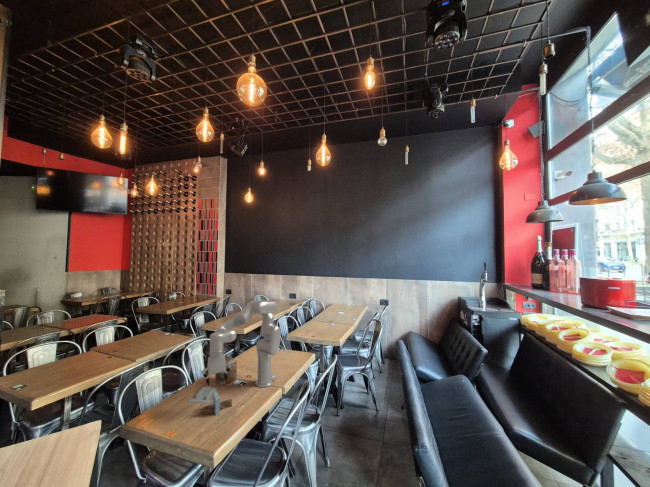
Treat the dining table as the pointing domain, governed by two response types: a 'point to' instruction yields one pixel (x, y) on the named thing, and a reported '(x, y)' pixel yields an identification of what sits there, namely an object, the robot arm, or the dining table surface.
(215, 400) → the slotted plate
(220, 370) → the robot arm
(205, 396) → the metal bracket
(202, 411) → the walnut board
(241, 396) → the dining table surface
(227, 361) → the milk carton
